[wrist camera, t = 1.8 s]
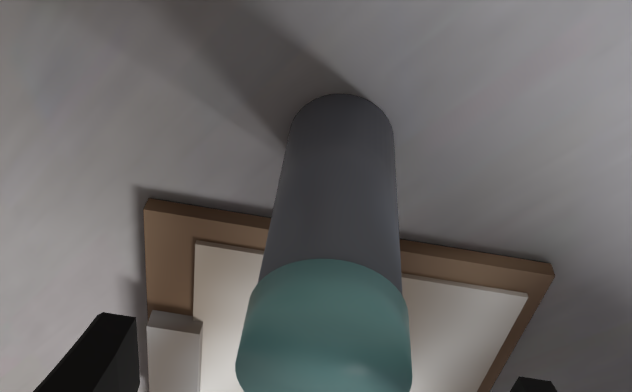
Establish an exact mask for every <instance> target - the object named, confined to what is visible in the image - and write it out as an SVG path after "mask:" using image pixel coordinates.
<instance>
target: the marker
mask: <svg viewBox="0 0 632 392" xmlns="http://www.w3.org/2000/svg"><path fill="white" fill-rule="evenodd" d="M235 372H236V377H237V380H238V382H239V384H240V386H241V388H242V389H243V391H244V392H409V391H410V389H411V385H412V377H413V376H412V361H411V345H410V330H409V315H408V308H407V305H406V302H405V300H404V298H403V294H402V276H401V258H400V240H399V222H398V204H397V187H396V169H395V151H394V136H393V130H392V126H391V124H390V122H389V120H388V118H387V117H386V115H385V114H384V113H383V112H382V111H381V110H380V109H379V108H378V107H377V106H376V105H374V104H373V103H371V102H370V101H368V100H366V99H363V98H361V97H358V96H354V95H348V94H333V95H327V96H323V97H320V98H318V99H315V100H313V101H312V102H310V103H308V104H307V105H306V106H304V107H303V108H302V109H301V110H300V111H299V112H298V114H297V115H296V116H295V118H294V120H293V122H292V125H291V128H290V132H289V137H288V142H287V146H286V151H285V156H284V161H283V165H282V170H281V175H280V179H279V184H278V189H277V194H276V198H275V203H274V208H273V213H272V217H271V222H270V227H269V231H268V236H267V241H266V246H265V250H264V255H263V260H262V265H261V269H260V274H259V279H258V284H257V285H256V287H255V288H254V290H253V291H252V293H251V296H250V299H249V303H248V308H247V312H246V317H245V321H244V326H243V330H242V335H241V340H240V344H239V349H238V353H237V358H236V362H235Z"/></svg>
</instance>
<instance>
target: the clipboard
mask: <svg viewBox="0 0 632 392" xmlns="http://www.w3.org/2000/svg"><path fill="white" fill-rule="evenodd" d="M143 213H144V238H145V262H146V286H147V310H148V323H147V326H146V330H147V353H148V375H149V392H244V391H243V389H242V388H241V386H240V384H239V382H238V380H237V377H236V372H235V362H236V358H237V353H238V349H239V344H240V340H241V335H242V330H243V326H244V321H245V317H246V312H247V308H248V303H249V299H250V296H251V293H252V291H253V290H254V288H255V287H256V285H257V284H258V279H259V274H260V269H261V265H262V260H263V255H264V250H265V246H266V241H267V236H268V231H269V227H270V222H271V218H267V217H261V216H255V215H249V214H243V213H236V212H230V211H224V210H218V209H212V208H206V207H200V206H193V205H187V204H181V203H175V202H169V201H163V200H157V199H150V198H149V199H148V201H147V203H146V205H145V207H144V209H143ZM399 240H400V258H401V276H402V294H403V298H404V300H405V302H406V305H407V308H408V315H409V330H410V345H411V361H412V376H413V377H412V385H411V389H410V391H409V392H489V391H490V390H491V388H492V386H493V384H494V383H495V381H496V379H497V377H498V376H499V374H500V372H501V370H502V369H503V367H504V365H505V363H506V362H507V360H508V358H509V356H510V354H511V353H512V351H513V349H514V347H515V346H516V344H517V342H518V340H519V339H520V337H521V335H522V333H523V332H524V330H525V328H526V326H527V325H528V323H529V321H530V319H531V318H532V316H533V314H534V312H535V311H536V309H537V307H538V305H539V304H540V302H541V300H542V298H543V297H544V295H545V293H546V291H547V290H548V288H549V286H550V284H551V283H552V281H553V279H554V277H555V274H554V271H553V268H552V265H551V264H550V263H543V262H537V261H531V260H525V259H519V258H513V257H507V256H501V255H494V254H488V253H482V252H476V251H470V250H464V249H458V248H451V247H445V246H439V245H433V244H427V243H421V242H415V241H408V240H402V239H399Z"/></svg>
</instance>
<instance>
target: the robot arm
mask: <svg viewBox="0 0 632 392" xmlns="http://www.w3.org/2000/svg"><path fill="white" fill-rule="evenodd" d="M139 384H140V376H139V360H138V343H137V327H136V317H130V316H123V315H117V314H110V313H104V312H103V313H101V314H99V315H97V316H96V318H95V319H94V320H93V322H92V323H91V324H90V325H89V327H88V328H87V329H86V331H85V332H84V333H83V334H82V335H81V337H80V338H79V339H78V340H77V342H76V343H75V344H74V345H73V347H72V348H71V349H70V350H69V351H68V353H67V354H66V355H65V356H64V357H63V358H62V360H61V361H60V362H59V363H58V364H57V365H56V367H55V368H54V369H53V370H52V371H51V372H50V373H49V375H48V376H47V377H46V378H45V379H44V380H43V381H42V382H41V384H40V385H39V386H38V387H37V388H36V389H35V390H34V391H33V392H137V391H138V388H139ZM510 392H557V390H556V389H555V387H554V385H553V384H552V382H551V381H545V380H538V379H532V378H525V377H518V379H517V381H516V382H515V384H514V386H513V387H512V389H511V391H510Z"/></svg>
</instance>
